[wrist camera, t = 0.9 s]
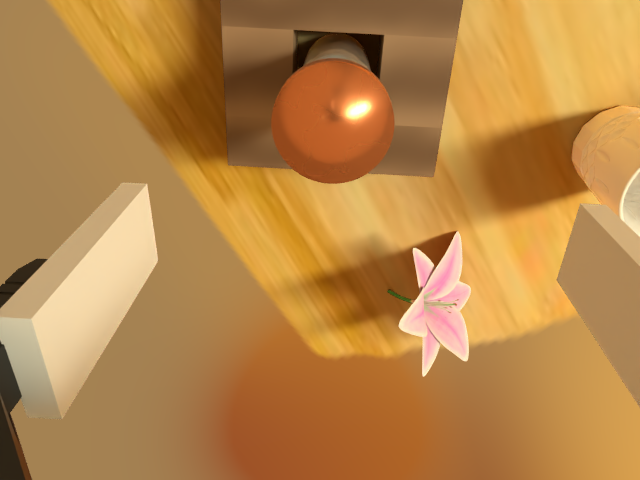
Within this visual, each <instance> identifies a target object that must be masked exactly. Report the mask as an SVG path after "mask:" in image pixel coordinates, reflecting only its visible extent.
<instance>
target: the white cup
mask: <svg viewBox="0 0 640 480" xmlns="http://www.w3.org/2000/svg"><path fill="white" fill-rule="evenodd" d="M571 160H572V162H573V165H574V167H575V169H576V171H577V174H578V175H579V176H580V177H581V179H582V180H583V181H584V182H585V184H586V185H587V187H588V188H589V190H590V191H591V192H592V193H593V194H594V196H595V197H596V198H597V200H598V201H599V202H600V203H601V205H607V206H608V207H609V208H610V209H611V210H612V211H613V212H614V213H615V214H616V215H617V216H618V217H619V218H620V219H621V220H623V221H624V222H625V223H626V224H627V225H628V226H629V227H630V228H631V229H632V230H633V231H634V232H635V233H636V234H637V235H638V236H639V237H640V108H639V107H630V106H618V107H615V108H612V109H608V110H605V111H602V112H600V113H599V114H597V115H596V116H595V117H594V118H592V119H591V120H590V121H588V122H587V123H586V124H585V125H584V126H583V127H582V129H581V130H580V132H579V134H578V135H577V137H576V139H575V140H574V142H573V150H572V159H571Z"/></svg>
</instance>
